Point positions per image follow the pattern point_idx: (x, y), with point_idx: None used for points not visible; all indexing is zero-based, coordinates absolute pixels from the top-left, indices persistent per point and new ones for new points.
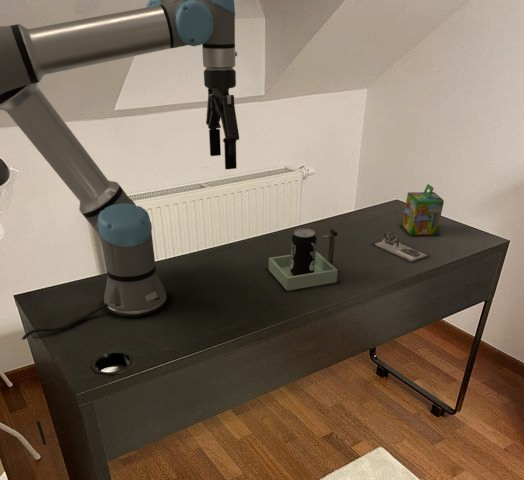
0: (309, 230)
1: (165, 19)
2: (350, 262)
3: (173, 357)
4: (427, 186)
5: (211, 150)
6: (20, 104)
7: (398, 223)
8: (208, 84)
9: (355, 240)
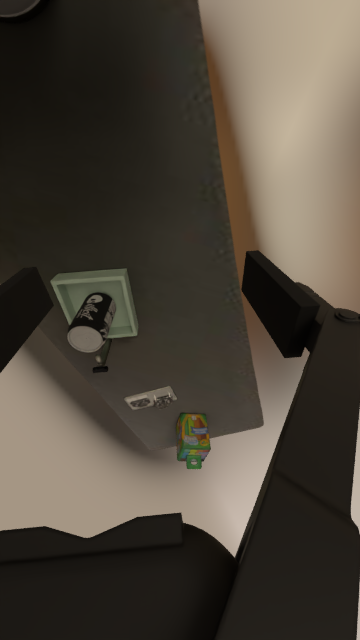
0: (98, 347)
1: None
2: (131, 356)
3: None
4: (199, 465)
5: (253, 262)
6: None
7: (213, 413)
8: None
9: (186, 375)
